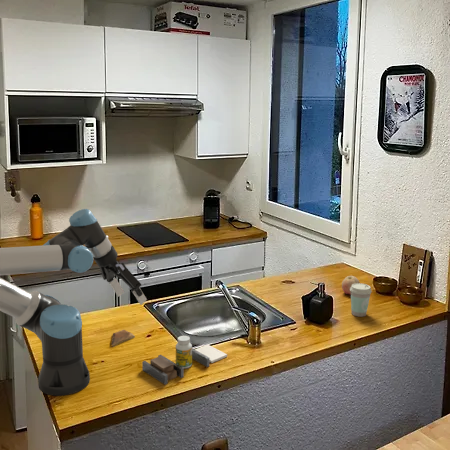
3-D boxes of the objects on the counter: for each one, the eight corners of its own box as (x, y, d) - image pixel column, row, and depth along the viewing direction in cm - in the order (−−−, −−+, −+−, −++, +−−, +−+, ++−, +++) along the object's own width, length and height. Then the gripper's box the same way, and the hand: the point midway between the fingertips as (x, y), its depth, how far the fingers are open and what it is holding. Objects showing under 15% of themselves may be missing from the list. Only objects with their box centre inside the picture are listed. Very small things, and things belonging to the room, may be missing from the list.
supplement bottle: (193, 361, 183) (193, 335, 180) (190, 369, 177) (190, 342, 175) (177, 360, 183) (177, 333, 181) (173, 368, 178) (173, 341, 176)
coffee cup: (361, 319, 219) (363, 291, 216) (343, 313, 226) (346, 285, 223) (373, 314, 225) (376, 287, 222) (356, 308, 231) (358, 281, 228)
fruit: (337, 292, 249) (338, 275, 247) (351, 289, 253) (352, 273, 251) (349, 297, 243) (350, 280, 241) (362, 295, 246) (364, 278, 244)
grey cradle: (164, 384, 168) (164, 375, 167) (142, 370, 177) (142, 361, 176) (209, 366, 180) (209, 357, 179) (186, 353, 189) (186, 345, 188)
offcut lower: (166, 382, 170) (166, 375, 170) (149, 371, 177) (149, 364, 176) (176, 378, 173) (176, 370, 172) (159, 367, 179) (159, 360, 179)
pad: (211, 363, 182) (211, 360, 182) (192, 352, 189) (192, 350, 189) (227, 356, 187) (227, 354, 187) (207, 346, 194) (207, 344, 194)
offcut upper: (163, 374, 170) (162, 368, 170) (150, 365, 175) (150, 359, 175) (173, 370, 173) (173, 364, 172) (160, 361, 178) (160, 356, 177)
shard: (111, 348, 192) (111, 344, 191) (98, 342, 197) (98, 337, 196) (135, 339, 200) (135, 334, 199) (122, 332, 205) (122, 328, 204)
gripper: (131, 249, 174) (161, 297, 184) (91, 239, 192) (120, 284, 202) (114, 264, 170) (145, 313, 180) (75, 253, 188) (105, 298, 198)
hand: (132, 298), depth 191 cm, fingers open, 13 cm apart
